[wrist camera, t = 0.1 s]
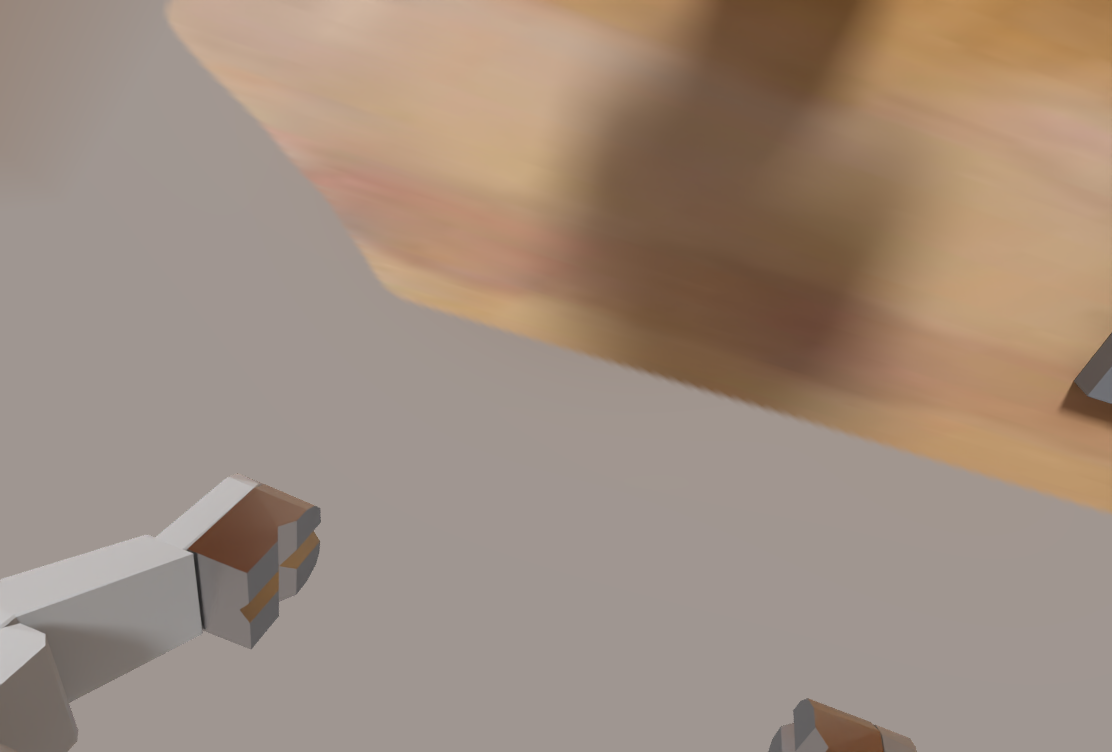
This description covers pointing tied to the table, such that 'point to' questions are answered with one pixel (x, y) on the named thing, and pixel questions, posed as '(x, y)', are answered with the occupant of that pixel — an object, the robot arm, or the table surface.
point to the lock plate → (1098, 374)
